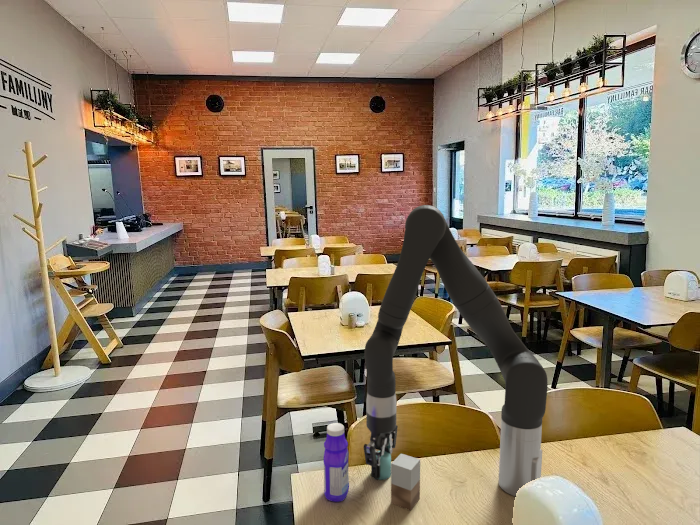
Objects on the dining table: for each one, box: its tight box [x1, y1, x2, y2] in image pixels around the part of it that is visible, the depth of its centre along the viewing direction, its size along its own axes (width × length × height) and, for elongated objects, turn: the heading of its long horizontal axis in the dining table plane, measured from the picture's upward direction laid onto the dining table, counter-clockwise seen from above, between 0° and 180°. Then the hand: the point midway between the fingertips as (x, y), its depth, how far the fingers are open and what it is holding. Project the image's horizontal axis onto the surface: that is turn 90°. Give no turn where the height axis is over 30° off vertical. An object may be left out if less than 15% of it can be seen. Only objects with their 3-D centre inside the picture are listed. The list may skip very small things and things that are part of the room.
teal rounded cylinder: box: [374, 450, 392, 481], centre depth 123 cm, size 5×5×5 cm
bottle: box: [323, 422, 350, 503], centre depth 114 cm, size 7×6×17 cm
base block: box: [390, 479, 421, 511], centre depth 112 cm, size 5×5×5 cm
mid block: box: [390, 453, 421, 490], centre depth 111 cm, size 5×5×5 cm
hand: (381, 471), depth 123 cm, fingers closed on teal rounded cylinder, 5 cm apart
